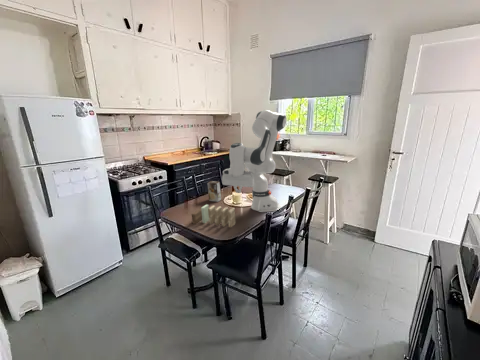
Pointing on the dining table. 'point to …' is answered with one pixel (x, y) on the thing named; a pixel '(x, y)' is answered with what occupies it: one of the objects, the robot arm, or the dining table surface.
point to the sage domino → (205, 213)
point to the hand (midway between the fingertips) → (238, 192)
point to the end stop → (197, 216)
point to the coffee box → (214, 191)
